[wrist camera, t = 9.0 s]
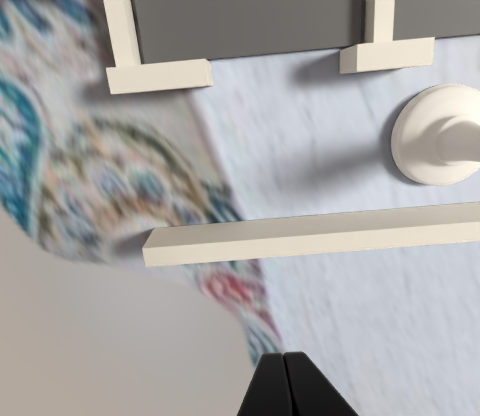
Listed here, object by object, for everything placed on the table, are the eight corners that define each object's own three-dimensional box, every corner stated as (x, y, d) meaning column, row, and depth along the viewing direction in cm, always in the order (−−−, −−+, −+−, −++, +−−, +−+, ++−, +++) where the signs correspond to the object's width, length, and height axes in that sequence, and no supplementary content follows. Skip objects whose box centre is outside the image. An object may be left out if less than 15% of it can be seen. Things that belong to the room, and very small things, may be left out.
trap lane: (562, 212, 18) (609, 230, 16) (157, 244, 19) (145, 267, 17) (643, -129, 14) (728, -174, 11) (99, -72, 14) (71, -103, 12)
